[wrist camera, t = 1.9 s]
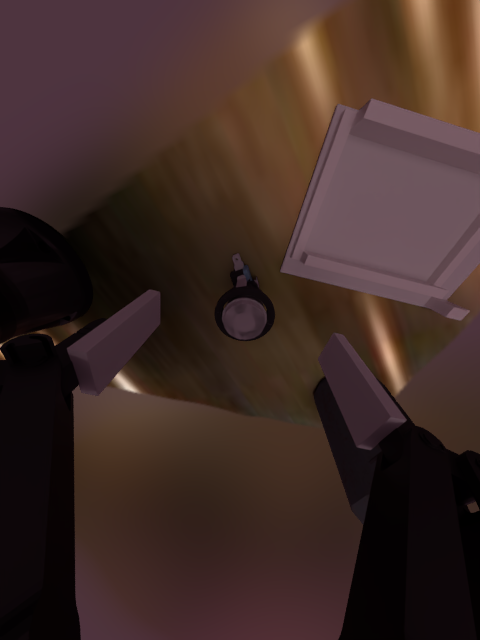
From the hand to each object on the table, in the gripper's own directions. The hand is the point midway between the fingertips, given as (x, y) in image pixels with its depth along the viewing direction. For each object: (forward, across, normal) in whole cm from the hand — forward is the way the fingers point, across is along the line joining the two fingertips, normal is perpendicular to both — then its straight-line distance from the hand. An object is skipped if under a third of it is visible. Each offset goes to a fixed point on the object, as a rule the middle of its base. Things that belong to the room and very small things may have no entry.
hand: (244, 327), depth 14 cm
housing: (+12, +14, +10) cm, 20 cm away
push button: (+12, 0, 0) cm, 12 cm away
